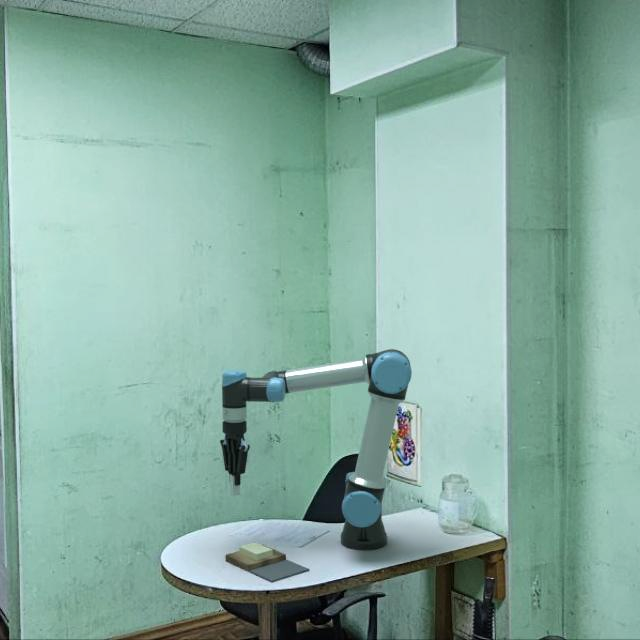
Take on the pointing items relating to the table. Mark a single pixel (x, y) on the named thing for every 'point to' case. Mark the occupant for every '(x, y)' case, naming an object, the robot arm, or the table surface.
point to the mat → (279, 570)
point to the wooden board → (252, 564)
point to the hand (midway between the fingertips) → (235, 494)
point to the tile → (255, 551)
